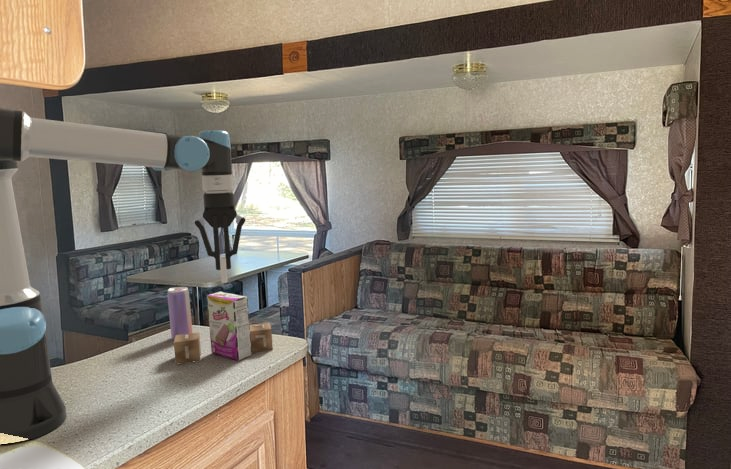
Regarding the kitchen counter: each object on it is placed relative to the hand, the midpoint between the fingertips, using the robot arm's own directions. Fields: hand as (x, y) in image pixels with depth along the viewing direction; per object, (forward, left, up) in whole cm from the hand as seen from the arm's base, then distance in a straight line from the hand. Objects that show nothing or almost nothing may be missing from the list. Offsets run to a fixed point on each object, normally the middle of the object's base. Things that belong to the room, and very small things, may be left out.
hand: (224, 281), depth 143 cm
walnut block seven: (+8, +3, -20) cm, 22 cm away
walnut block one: (-11, +1, -20) cm, 23 cm away
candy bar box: (0, 0, -20) cm, 20 cm away
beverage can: (-14, +19, -20) cm, 31 cm away
